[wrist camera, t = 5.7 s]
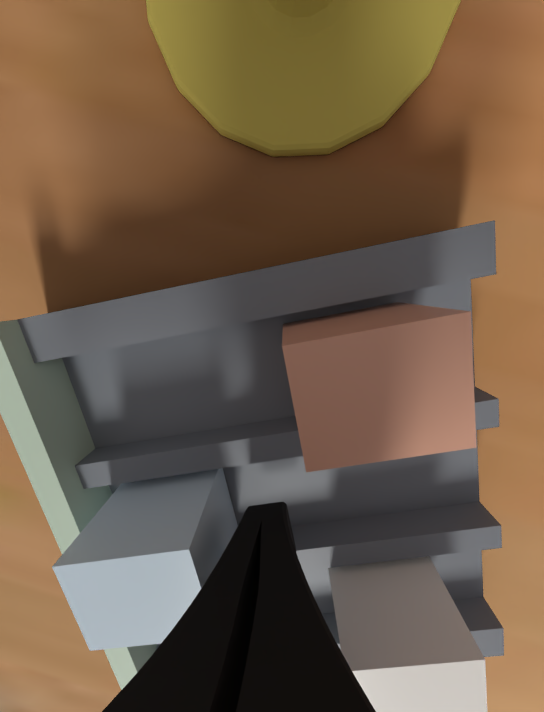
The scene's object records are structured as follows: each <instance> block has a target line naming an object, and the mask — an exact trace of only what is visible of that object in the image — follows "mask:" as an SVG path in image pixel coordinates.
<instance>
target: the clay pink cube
mask: <svg viewBox="0 0 544 712" xmlns="http://www.w3.org/2000/svg"><path fill="white" fill-rule="evenodd" d="M282 349H283V354H284V359H285V364H286V370H287V375H288V380H289V385H290V390H291V396H292V401H293V406H294V411H295V417H296V422H297V427H298V432H299V438H300V443H301V448H302V453H303V458H304V464H305V469H306V472H313V471H320V470H326V469H333V468H340V467H347V466H354V465H361V464H368V463H375V462H381V461H388V460H395V459H402V458H409V457H416V456H423V455H430V454H436V453H443V452H450V451H457V450H464V449H471V448H476V424H475V399H474V374H473V350H472V325H471V311H464V310H456V309H448V308H440V307H432V306H424V305H416V304H408V303H400V302H395V303H390V304H385V305H380V306H374V307H369V308H364V309H359V310H353V311H348V312H343V313H338V314H332V315H327V316H322V317H317V318H311V319H306V320H301V321H296V322H290V323H285V324H283V332H282Z"/></svg>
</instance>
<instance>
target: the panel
mask: <svg viewBox="0 0 544 712" xmlns="http://www.w3.org/2000/svg"><path fill="white" fill-rule="evenodd" d="M494 274H496V251H495V221H490V222H485V223H480V224H475V225H471V226H466V227H461V228H456V229H451V230H446V231H442V232H437V233H432V234H427V235H422V236H418V237H413V238H408V239H403V240H398V241H394V242H389V243H384V244H379V245H374V246H369V247H365V248H360V249H355V250H350V251H345V252H341V253H336V254H331V255H326V256H321V257H317V258H312V259H307V260H302V261H297V262H292V263H288V264H283V265H278V266H273V267H268V268H264V269H259V270H254V271H249V272H244V273H239V274H235V275H230V276H225V277H220V278H215V279H211V280H206V281H201V282H196V283H191V284H187V285H182V286H177V287H172V288H167V289H162V290H158V291H153V292H148V293H143V294H138V295H134V296H129V297H124V298H119V299H114V300H110V301H105V302H100V303H95V304H90V305H85V306H81V307H76V308H71V309H66V310H61V311H57V312H52V313H47V314H42V315H37V316H33V317H28V318H23V319H18V320H10V321H2V322H0V413H1V415H2V418H3V420H4V422H5V425H6V427H7V429H8V432H9V434H10V436H11V438H12V441H13V443H14V445H15V448H16V450H17V452H18V454H19V457H20V459H21V461H22V464H23V466H24V468H25V470H26V473H27V475H28V477H29V480H30V482H31V484H32V486H33V489H34V491H35V493H36V496H37V498H38V500H39V502H40V505H41V507H42V509H43V512H44V514H45V516H46V518H47V521H48V523H49V525H50V528H51V530H52V532H53V534H54V537H55V539H56V541H57V544H58V546H59V548H60V550H61V553H62V554H63V553H64V552H65V551H66V550H67V548H68V547H69V546H70V545H71V544H72V542H73V541H74V540H75V539H76V538H77V536H78V535H79V534H80V533H81V532H82V530H83V529H84V528H85V527H86V526H87V524H88V523H89V522H90V521H91V520H92V518H93V517H94V516H95V515H96V513H97V512H98V511H99V510H100V509H101V507H102V506H103V505H104V504H105V503H106V501H107V500H108V499H109V498H110V497H111V495H112V494H113V493H114V492H115V491H116V489H117V488H118V487H119V486H120V485H121V483H127V482H134V481H141V480H147V479H154V478H161V477H167V476H174V475H180V474H187V473H194V472H200V471H207V470H214V469H220V468H223V471H224V475H225V479H226V483H227V487H228V490H229V494H230V498H231V502H232V506H233V509H234V513H235V517H236V521H237V525H239V523H240V521H241V519H242V517H243V515H244V513H245V511H246V509H247V508H248V506H253V505H261V504H268V503H276V502H284V503H286V504H287V508H288V513H289V518H290V522H291V527H292V532H293V536H294V541H295V546H296V553H297V556H298V559H299V562H300V564H301V567H302V570H303V572H304V575H305V577H306V580H307V582H308V584H309V587H310V589H311V591H312V594H313V596H314V598H315V600H316V602H317V605H318V607H319V609H320V611H321V613H322V615H323V617H324V619H325V621H326V623H327V625H328V627H329V629H330V631H331V633H332V635H333V637H334V639H335V641H336V643H337V644H338V646H339V648H340V641H339V635H338V628H337V622H336V616H335V609H334V603H333V597H332V590H331V584H330V578H329V571H328V568H333V567H341V566H350V565H358V564H367V563H375V562H384V561H392V560H401V559H410V558H418V557H427V556H429V557H430V559H431V561H432V562H433V564H434V566H435V568H436V570H437V572H438V573H439V575H440V577H441V579H442V581H443V583H444V585H445V586H446V588H447V590H448V592H449V594H450V596H451V598H452V599H453V601H454V603H455V605H456V607H457V609H458V610H459V612H460V614H461V616H462V618H463V620H464V622H465V623H466V625H467V627H468V629H469V631H470V633H471V634H472V636H473V638H474V640H475V642H476V644H477V646H478V647H479V649H480V651H481V653H482V655H483V657H490V656H501V655H504V636H503V627H502V625H501V624H500V622H499V621H498V619H497V618H496V616H495V614H494V613H493V611H492V610H491V608H490V607H489V605H488V604H487V602H486V600H485V599H484V597H483V579H482V554H481V550H487V549H495V548H502V539H501V525H500V524H499V523H498V521H497V520H496V519H495V518H494V517H493V516H492V515H491V514H490V513H489V512H488V511H487V509H486V508H485V507H484V506H483V505H482V504H481V503H480V502H479V479H478V454H477V430H479V429H486V428H493V427H499V399H498V398H496V397H494V396H492V395H490V394H488V393H486V392H484V391H482V390H480V389H478V388H477V387H475V379H474V399H475V424H476V448H471V449H464V450H457V451H450V452H443V453H436V454H430V455H423V456H416V457H409V458H402V459H395V460H388V461H381V462H375V463H368V464H361V465H354V466H347V467H340V468H333V469H326V470H320V471H313V472H306V469H305V464H304V458H303V453H302V448H301V443H300V438H299V432H298V427H297V422H296V417H295V411H294V406H293V401H292V396H291V390H290V385H289V380H288V375H287V370H286V364H285V359H284V354H283V349H282V332H283V324H285V323H290V322H296V321H301V320H306V319H311V318H317V317H322V316H327V315H332V314H338V313H343V312H348V311H353V310H359V309H364V308H369V307H374V306H380V305H385V304H390V303H395V302H400V303H408V304H416V305H424V306H432V307H440V308H448V309H456V310H464V311H471V325H472V304H471V279H473V278H479V277H484V276H489V275H494ZM472 350H473V329H472ZM473 374H474V354H473ZM159 646H160V644H152V645H142V646H132V647H122V648H112V649H104V651H105V653H106V656H107V658H108V660H109V663H110V665H111V667H112V669H113V672H114V674H115V676H116V679H117V681H118V683H119V685H120V688H121V690H122V689H123V688H124V687H125V686H126V685H127V684H128V682H129V681H130V680H131V679H132V678H133V677H134V676H135V675H136V674H137V672H138V671H139V670H140V669H141V668H142V667H143V665H144V664H145V663H146V662H147V661H148V659H149V658H150V657H151V656H152V654H153V653H154V652H155V651H156V649H157V648H158V647H159ZM340 650H341V648H340Z"/></svg>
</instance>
